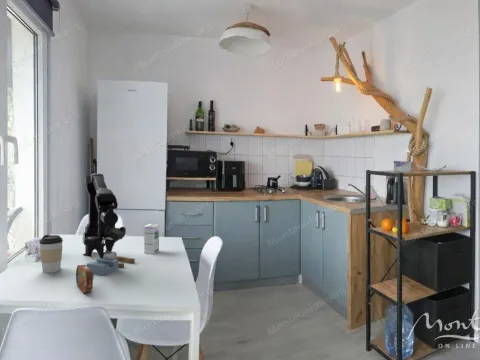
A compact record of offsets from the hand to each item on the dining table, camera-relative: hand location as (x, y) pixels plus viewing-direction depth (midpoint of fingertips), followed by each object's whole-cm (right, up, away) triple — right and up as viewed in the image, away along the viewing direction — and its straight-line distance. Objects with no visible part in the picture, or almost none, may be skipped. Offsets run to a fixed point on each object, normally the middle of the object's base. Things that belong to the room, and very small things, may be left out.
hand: (105, 256), depth 149 cm
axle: (-1, +1, 0) cm, 1 cm away
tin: (0, -8, -19) cm, 21 cm away
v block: (-2, -6, +1) cm, 6 cm away
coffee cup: (-24, -6, 0) cm, 24 cm away
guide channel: (+1, -6, +11) cm, 12 cm away
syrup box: (+12, -5, +31) cm, 34 cm away
